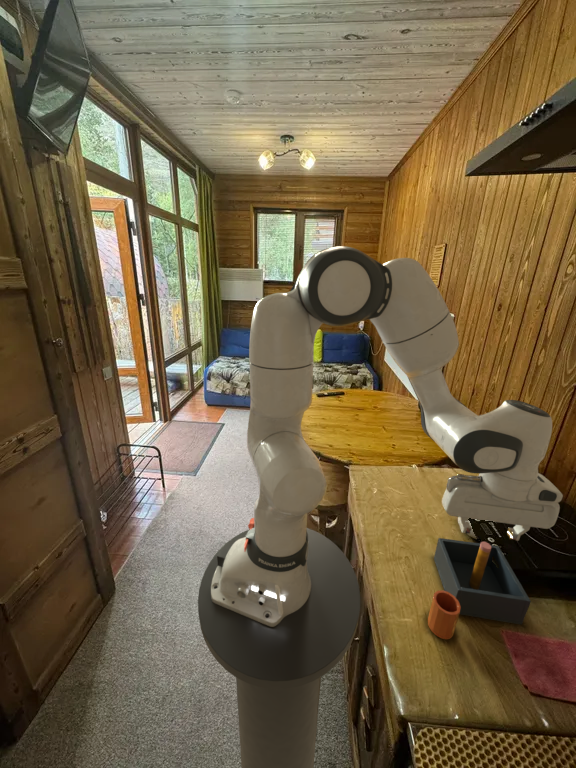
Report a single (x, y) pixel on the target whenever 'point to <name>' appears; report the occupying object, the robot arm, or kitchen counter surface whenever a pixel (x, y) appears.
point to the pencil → (480, 565)
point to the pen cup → (443, 614)
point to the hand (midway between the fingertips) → (488, 534)
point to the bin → (497, 588)
